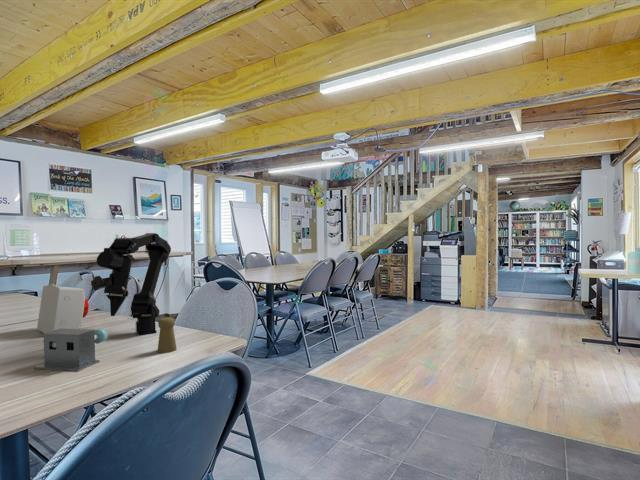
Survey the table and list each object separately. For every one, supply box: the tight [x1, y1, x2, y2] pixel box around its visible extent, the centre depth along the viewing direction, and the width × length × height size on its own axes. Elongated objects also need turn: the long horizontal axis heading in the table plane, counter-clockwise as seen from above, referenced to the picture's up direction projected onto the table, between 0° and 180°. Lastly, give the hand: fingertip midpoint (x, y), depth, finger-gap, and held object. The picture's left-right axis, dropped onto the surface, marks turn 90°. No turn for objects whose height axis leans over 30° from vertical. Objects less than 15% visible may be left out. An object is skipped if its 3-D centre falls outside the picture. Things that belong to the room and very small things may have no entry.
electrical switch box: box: [36, 283, 90, 334], centre depth 158 cm, size 15×15×20 cm
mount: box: [33, 328, 100, 372], centre depth 113 cm, size 8×15×10 cm, turn 80°
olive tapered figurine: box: [157, 316, 177, 354], centre depth 127 cm, size 6×6×11 cm
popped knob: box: [93, 327, 108, 344], centre depth 119 cm, size 8×4×4 cm, turn 170°
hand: (112, 316), depth 131 cm, fingers closed
